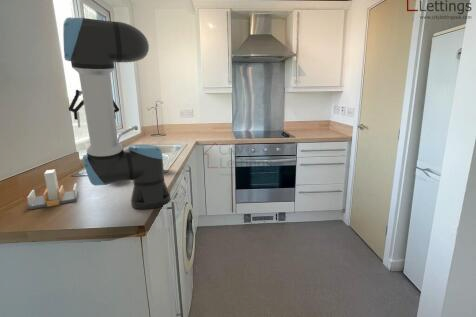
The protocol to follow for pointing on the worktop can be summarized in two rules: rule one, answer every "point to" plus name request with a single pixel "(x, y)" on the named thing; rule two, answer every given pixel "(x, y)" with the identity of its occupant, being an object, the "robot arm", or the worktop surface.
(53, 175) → the panel
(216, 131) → the worktop surface
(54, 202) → the rack
